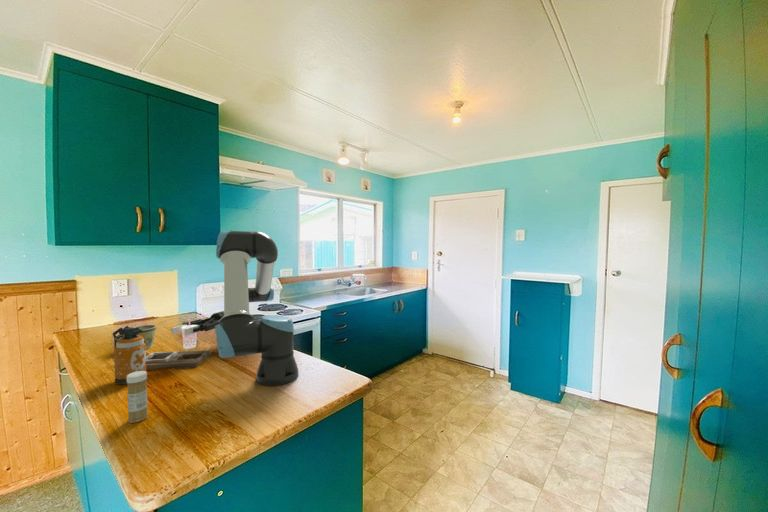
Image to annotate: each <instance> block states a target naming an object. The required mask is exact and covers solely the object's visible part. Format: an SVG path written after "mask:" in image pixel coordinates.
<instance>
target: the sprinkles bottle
mask: <svg viewBox="0 0 768 512" xmlns="http://www.w3.org/2000/svg"><path fill="white" fill-rule="evenodd" d="M147 379H148V373H147V370H146V371H137V372H133V373H130V374H128V375H127V384H126V385H127V411H128V413H127V414H128V419H127V421H128V423H129V424H134V423H135V424H136V423H140V422H142V421H144V420H145V419H147V418H148V416H149V415H148V389H147Z"/></svg>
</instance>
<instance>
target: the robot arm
mask: <svg viewBox="0 0 768 512" xmlns="http://www.w3.org/2000/svg"><path fill="white" fill-rule="evenodd" d="M215 256H216V258H217V259H219V261H220V263H221V264H222V265H223V279H224V280H223V283H224V285H223V294H224V295H223V302H224V303H223V309H224V310H222V311H219V312H215V313H213V314H211V315H210V317H206V318H204V319H202V318H199V319H195V320H192V321H191V320H190V325H197V326H194V327H190V328H187V329H185V336H187V335H190V334H193V333H197V334H198V333H199V332H208V331H211V330H214V331H215V340H216V346H217V347H216V348H217V351H218V356H219V357H220V358H224V359H225V358H236V357H241V356H249V355H256V354H261V356H260V357H261V358H260V359H261V360H260V361H259V362H260V363H259V365H258V369H257V371H256V377H255V379H256V382H257V383H258V384H259V385H262V386H267V387H268V386H269V387H270V386H279V385H281V386H282V385H285V384H288V383H291V382H294V380H295V381H296V379H297V378H298V377H299V367H298V364H297V361H296V358H295V356H294V355H295V354H294V332H295V329H294V321H293V319H292V318H291V317H288V316H285V315H277V314H269V315H268V314H267V315H263V316H261V317H260V320H258V321H257V320H256V321H255V317H254V315H252V314H251V313H250V303H259V302H260V303H261V302H265V303H266V302H269V301H270V302H271V301H273V300H274V299H275V291H274V287H273V286H272V281H273V280H272V279H273V275H274V267H275V262H276V261H277V260H278V256H279V252H278V246H277V245H276V242H275V241H274V240H273V239H272V237H271V236H269V235H267V234H266V233H264V232H261V231H249V230H248V231H243V230H242V231H240V230H237V231H236V230H224V231H223V230H222V231H220V232H219V234H218V236H217V240H216V250H215ZM251 259H256V262H257V263H256V272H255V273H256V275H255V286H254V287H249V275H248V273H249V271H248V264H249V263H250V262H251ZM187 325H189V321H187V322H183V323H182V325H177V326H175V327H171V335H177V334H180V333H182V330H181V327H183V326H187Z"/></svg>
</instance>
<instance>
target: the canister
mask: <svg viewBox="0 0 768 512" xmlns="http://www.w3.org/2000/svg"><path fill="white" fill-rule="evenodd" d="M135 327H136V328H133V327H129V326H128V325H126V326H125V327H119V328H118V329H117V330H116V331H114V332H112V336H113V338H114V340H113V341H114V343H113V344H114V350H113V351H114V355H113V356H114V366H113V368H114V384H118V385H128V384H127V375H128V374H130V373H133V372H137V371H146V372H147V370H146V356H147V351H146V350H147V349H146V344H145V343H144V338H143V337H142V336H140V335H136V334H138V333H139V332H141V329H139V328H138V327H137V326H135ZM118 333H119V334H118Z"/></svg>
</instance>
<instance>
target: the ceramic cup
mask: <svg viewBox="0 0 768 512" xmlns="http://www.w3.org/2000/svg"><path fill="white" fill-rule="evenodd" d="M136 327H138V328H139V329H141V332H139V333H138V334H136V335H140V336H142V337H143V338H144V343H145V344H146V350H148V349H151V348H152V347H153V345H154V340H155V336H156V331H157V325H156V324H143V325H138V326H133V327H132V328H136Z"/></svg>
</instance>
